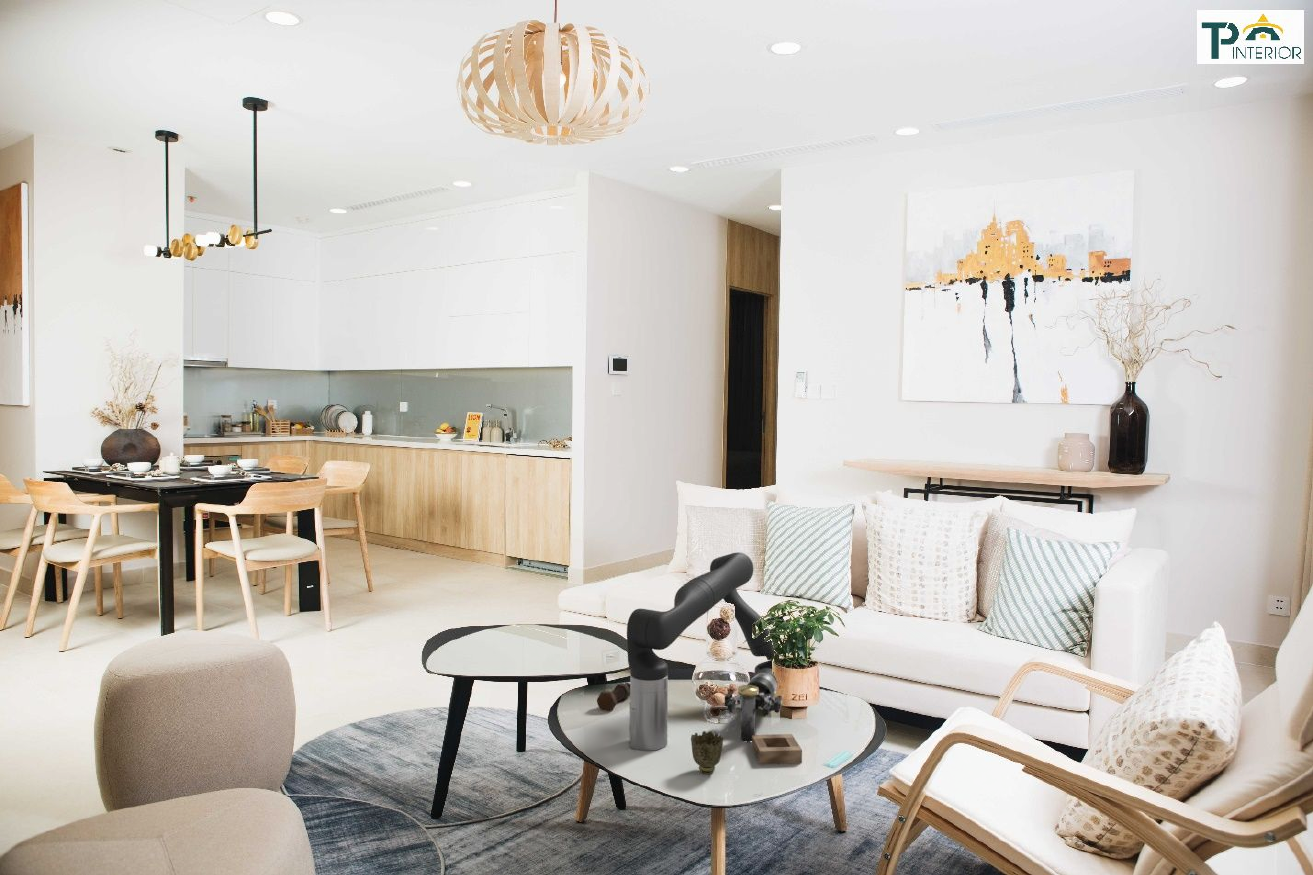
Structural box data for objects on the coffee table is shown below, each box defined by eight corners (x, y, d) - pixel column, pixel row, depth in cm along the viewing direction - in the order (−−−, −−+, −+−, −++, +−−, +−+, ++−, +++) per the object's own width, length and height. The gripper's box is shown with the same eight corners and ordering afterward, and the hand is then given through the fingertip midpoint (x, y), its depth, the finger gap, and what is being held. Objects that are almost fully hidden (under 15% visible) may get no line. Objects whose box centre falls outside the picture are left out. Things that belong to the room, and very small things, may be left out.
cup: (699, 780, 198) (699, 745, 197) (685, 767, 205) (685, 733, 204) (728, 774, 201) (729, 740, 200) (713, 762, 208) (714, 729, 207)
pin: (739, 743, 219) (739, 691, 218) (735, 735, 224) (736, 685, 223) (760, 743, 219) (760, 691, 219) (755, 734, 225) (756, 684, 224)
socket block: (759, 764, 207) (760, 751, 207) (751, 747, 217) (751, 735, 217) (801, 762, 208) (802, 750, 208) (791, 745, 218) (791, 733, 217)
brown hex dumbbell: (631, 701, 255) (607, 716, 241) (617, 690, 256) (593, 704, 243) (640, 685, 253) (617, 699, 240) (626, 674, 255) (603, 688, 241)
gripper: (735, 673, 238) (719, 692, 223) (787, 679, 234) (775, 699, 218) (734, 701, 239) (719, 721, 223) (787, 707, 234) (775, 729, 219)
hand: (747, 710), depth 221 cm, fingers open, 8 cm apart
